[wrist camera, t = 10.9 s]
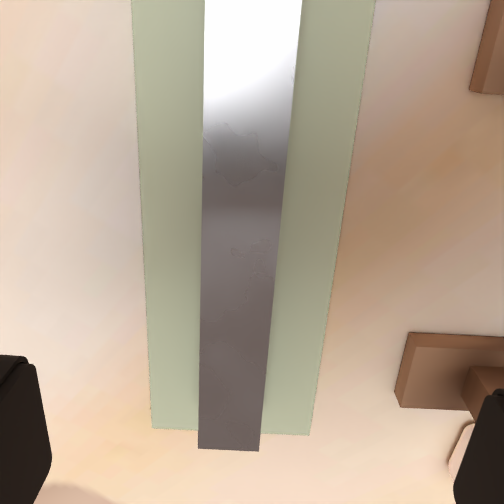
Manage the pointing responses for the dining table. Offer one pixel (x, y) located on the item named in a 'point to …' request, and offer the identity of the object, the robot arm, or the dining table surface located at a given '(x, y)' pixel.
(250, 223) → the rail
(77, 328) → the dining table surface
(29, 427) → the robot arm
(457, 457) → the salt shaker
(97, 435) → the dining table surface
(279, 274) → the board
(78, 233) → the dining table surface
